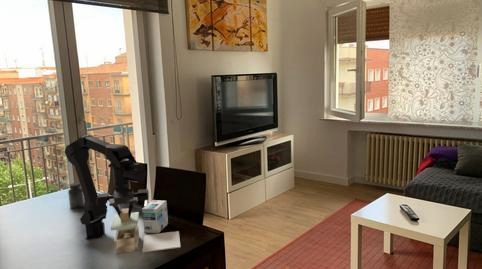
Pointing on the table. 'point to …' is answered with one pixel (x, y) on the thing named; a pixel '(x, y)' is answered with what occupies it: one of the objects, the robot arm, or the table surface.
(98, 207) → the robot arm
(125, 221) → the lid
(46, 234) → the table surface
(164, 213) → the light bulb box
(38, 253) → the table surface
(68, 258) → the table surface
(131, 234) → the crate
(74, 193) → the supplement bottle
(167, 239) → the felt mat
